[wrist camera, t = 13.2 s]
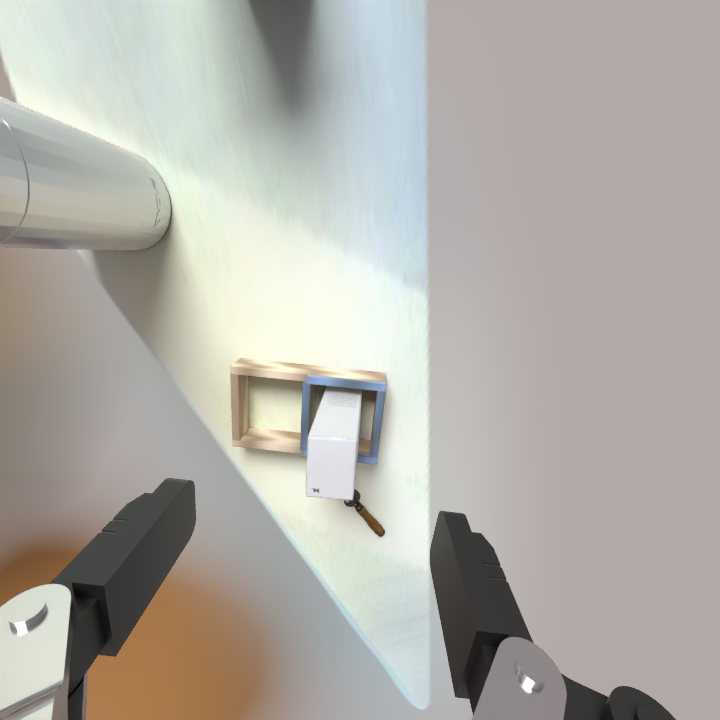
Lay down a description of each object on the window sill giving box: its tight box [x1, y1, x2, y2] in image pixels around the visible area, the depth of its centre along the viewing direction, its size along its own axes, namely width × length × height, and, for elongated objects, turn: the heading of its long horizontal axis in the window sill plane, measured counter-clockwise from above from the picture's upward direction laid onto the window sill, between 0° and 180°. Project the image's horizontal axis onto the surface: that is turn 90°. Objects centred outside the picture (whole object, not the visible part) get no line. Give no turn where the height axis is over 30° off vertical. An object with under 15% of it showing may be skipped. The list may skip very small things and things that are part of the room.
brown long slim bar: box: [344, 489, 385, 537], centre depth 43 cm, size 9×2×1 cm, turn 31°
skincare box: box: [306, 386, 362, 500], centre depth 33 cm, size 6×4×12 cm
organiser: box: [230, 358, 386, 464], centre depth 37 cm, size 16×10×4 cm, turn 85°
